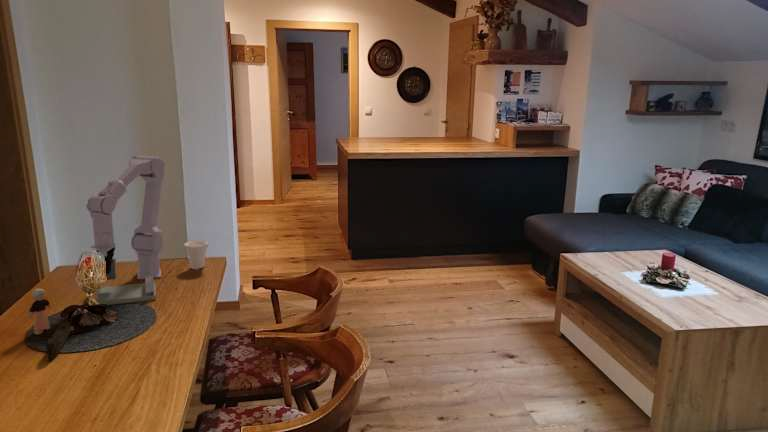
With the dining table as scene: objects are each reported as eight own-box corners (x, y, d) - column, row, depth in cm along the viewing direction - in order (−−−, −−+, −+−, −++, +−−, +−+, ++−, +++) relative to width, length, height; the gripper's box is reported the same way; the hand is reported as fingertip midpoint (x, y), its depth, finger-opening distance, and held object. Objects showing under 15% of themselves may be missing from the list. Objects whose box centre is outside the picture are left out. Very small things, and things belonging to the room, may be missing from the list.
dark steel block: (104, 276, 185) (103, 259, 184) (116, 275, 187) (115, 258, 186) (103, 280, 182) (103, 262, 181) (115, 279, 183) (114, 262, 182)
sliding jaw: (145, 283, 191) (145, 275, 190) (153, 282, 192) (153, 274, 191) (145, 293, 182) (145, 285, 181) (153, 293, 183) (153, 284, 182)
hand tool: (60, 332, 158) (58, 317, 157) (75, 331, 159) (73, 316, 158) (37, 364, 140) (35, 347, 139) (55, 363, 141) (53, 346, 140)
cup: (184, 264, 217) (183, 240, 215) (209, 263, 220) (208, 239, 218) (183, 272, 209) (182, 246, 207) (209, 270, 212) (208, 245, 209)
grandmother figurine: (41, 336, 154) (36, 293, 151) (27, 335, 154) (22, 293, 151) (57, 324, 162) (53, 283, 159) (44, 324, 162) (39, 283, 159)
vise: (91, 292, 186) (90, 279, 185) (155, 286, 194) (154, 273, 193) (87, 306, 175) (86, 292, 174) (155, 299, 182) (155, 285, 181)
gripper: (91, 227, 185) (95, 265, 189) (87, 238, 172) (91, 279, 176) (115, 225, 188) (118, 263, 191) (112, 236, 175) (115, 277, 178)
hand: (106, 271), depth 184 cm, fingers closed on dark steel block, 4 cm apart
